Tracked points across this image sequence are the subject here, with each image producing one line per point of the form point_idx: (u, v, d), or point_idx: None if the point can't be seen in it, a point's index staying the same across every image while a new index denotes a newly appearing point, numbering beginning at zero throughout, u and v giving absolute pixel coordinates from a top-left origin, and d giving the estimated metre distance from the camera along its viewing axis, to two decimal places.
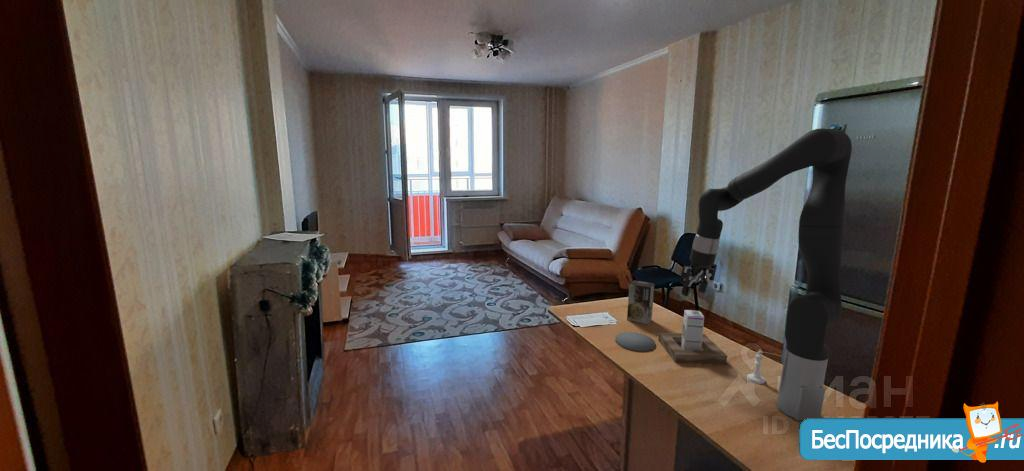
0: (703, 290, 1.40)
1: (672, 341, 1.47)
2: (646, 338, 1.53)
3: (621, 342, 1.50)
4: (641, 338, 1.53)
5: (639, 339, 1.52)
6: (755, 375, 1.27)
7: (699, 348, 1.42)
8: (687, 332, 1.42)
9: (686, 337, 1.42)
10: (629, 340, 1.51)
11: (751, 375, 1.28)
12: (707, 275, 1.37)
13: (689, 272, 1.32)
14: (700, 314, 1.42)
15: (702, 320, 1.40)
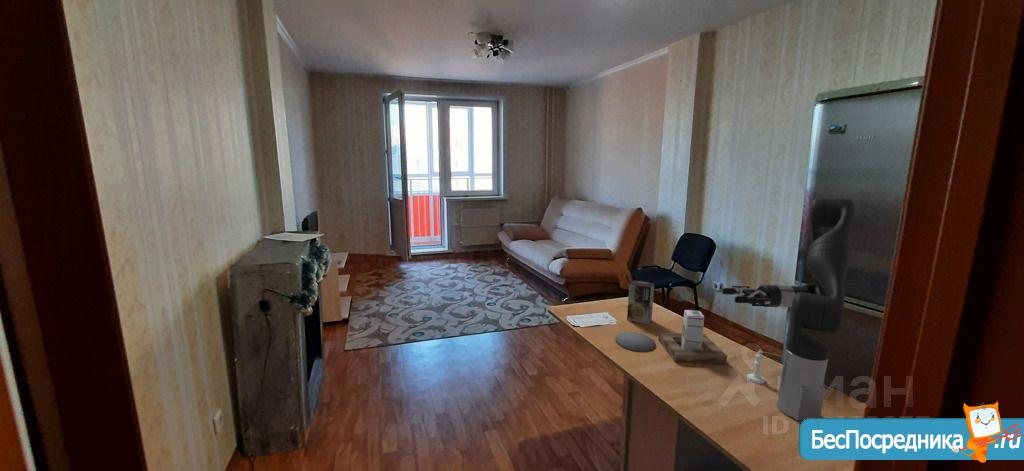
0: None
1: (672, 341, 1.47)
2: (646, 338, 1.53)
3: (621, 342, 1.50)
4: (641, 338, 1.53)
5: (639, 339, 1.52)
6: (755, 375, 1.27)
7: (699, 348, 1.42)
8: (687, 332, 1.42)
9: (686, 337, 1.42)
10: (629, 340, 1.51)
11: (751, 375, 1.28)
12: (754, 293, 1.39)
13: (745, 286, 1.48)
14: (700, 314, 1.42)
15: (702, 320, 1.40)
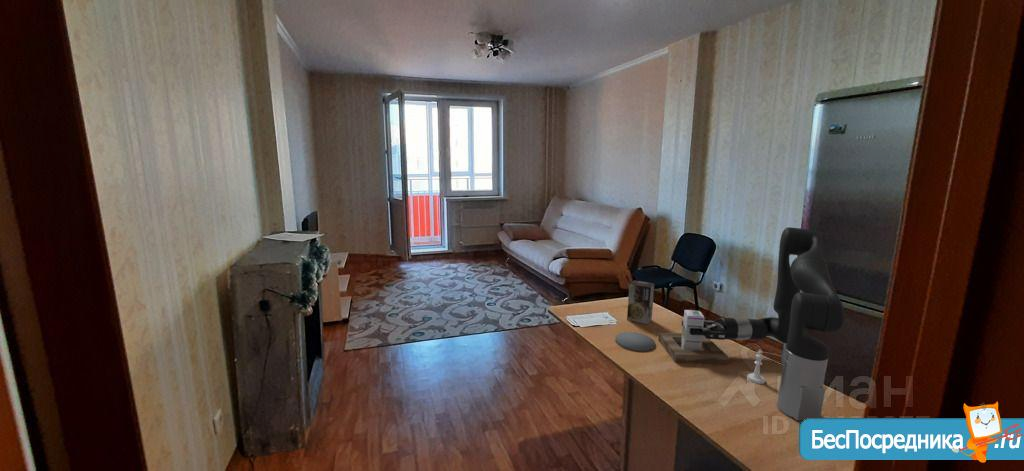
0: None
1: (672, 341, 1.47)
2: (646, 338, 1.53)
3: (621, 342, 1.50)
4: (641, 338, 1.53)
5: (639, 339, 1.52)
6: (755, 375, 1.27)
7: (699, 348, 1.42)
8: (687, 332, 1.42)
9: (686, 337, 1.42)
10: (629, 340, 1.51)
11: (751, 375, 1.28)
12: (710, 325, 1.42)
13: (704, 318, 1.50)
14: (700, 314, 1.42)
15: (702, 320, 1.40)
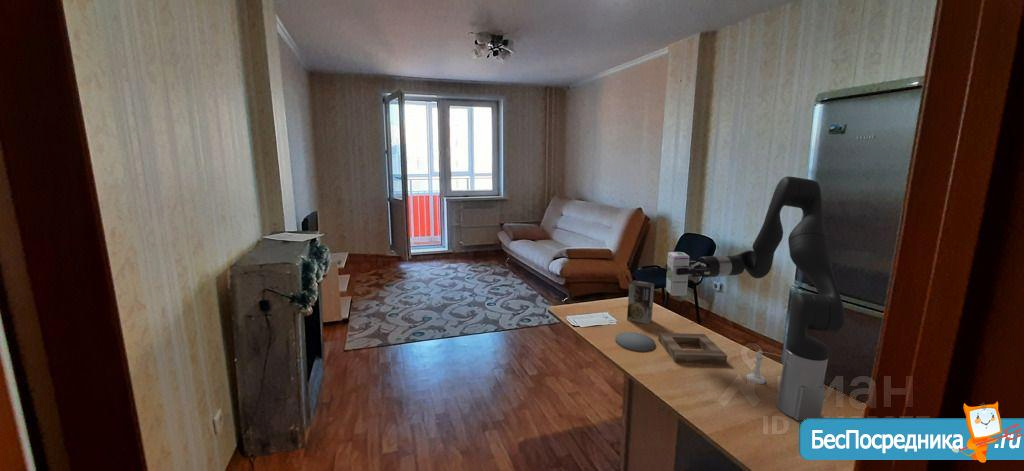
0: None
1: (672, 341, 1.47)
2: (646, 338, 1.53)
3: (621, 342, 1.50)
4: (641, 338, 1.53)
5: (639, 339, 1.52)
6: (755, 375, 1.27)
7: (685, 288, 1.43)
8: (674, 273, 1.42)
9: (673, 278, 1.42)
10: (629, 340, 1.51)
11: (751, 375, 1.28)
12: (694, 264, 1.43)
13: None
14: (684, 254, 1.42)
15: (687, 259, 1.41)
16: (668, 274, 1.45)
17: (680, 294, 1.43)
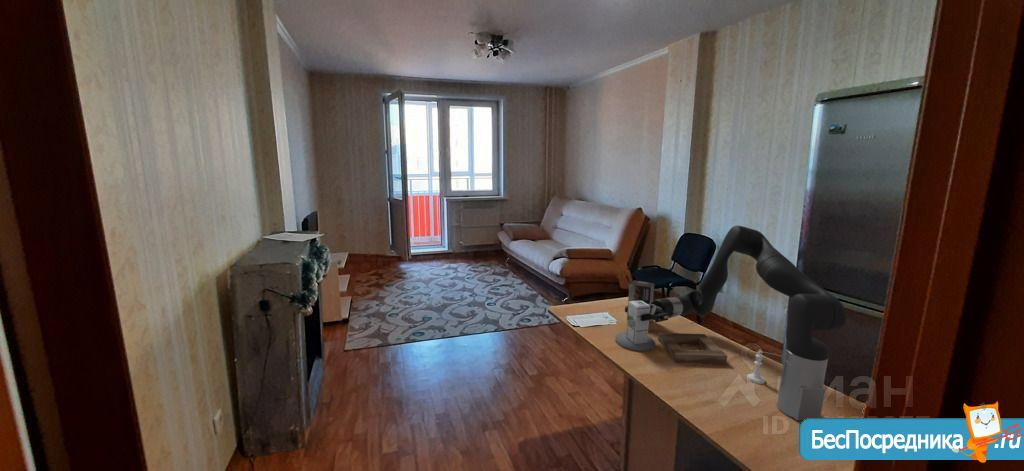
0: None
1: (672, 341, 1.47)
2: None
3: (621, 342, 1.50)
4: None
5: None
6: (755, 375, 1.27)
7: (646, 336, 1.49)
8: (636, 323, 1.46)
9: (636, 327, 1.47)
10: (629, 340, 1.51)
11: (751, 375, 1.28)
12: (653, 309, 1.49)
13: None
14: (645, 303, 1.48)
15: (648, 309, 1.47)
16: (629, 323, 1.50)
17: (642, 342, 1.49)
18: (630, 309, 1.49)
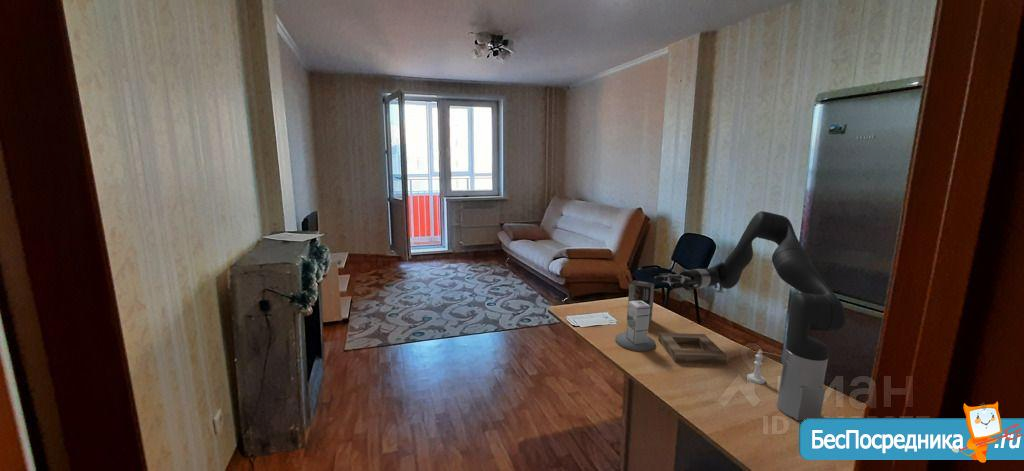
0: None
1: (672, 341, 1.47)
2: None
3: (621, 342, 1.50)
4: None
5: None
6: (755, 375, 1.27)
7: (646, 336, 1.49)
8: (636, 323, 1.46)
9: (636, 327, 1.47)
10: (629, 340, 1.51)
11: (751, 375, 1.28)
12: (682, 278, 1.52)
13: (668, 273, 1.61)
14: (645, 303, 1.48)
15: (648, 309, 1.47)
16: (629, 323, 1.50)
17: (642, 342, 1.49)
18: (630, 309, 1.49)
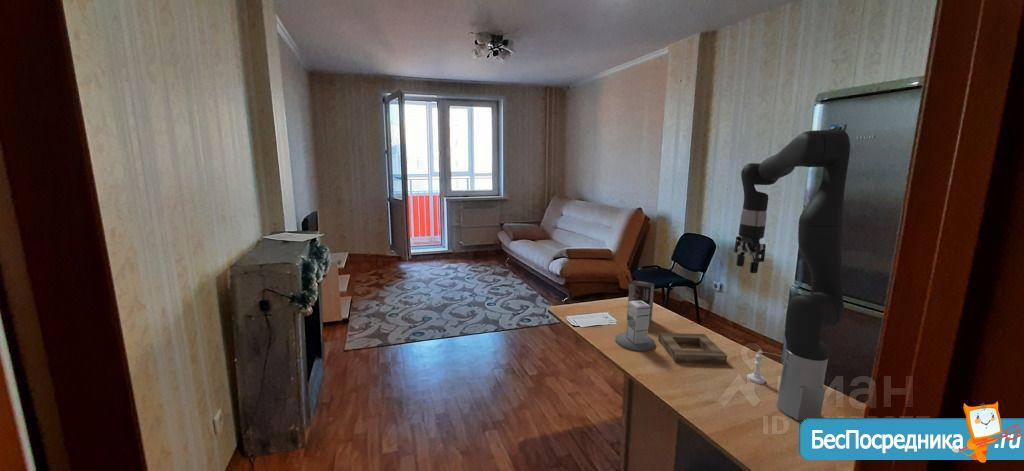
0: None
1: (672, 341, 1.47)
2: None
3: (621, 342, 1.50)
4: None
5: None
6: (755, 375, 1.27)
7: (646, 336, 1.49)
8: (636, 323, 1.46)
9: (636, 327, 1.47)
10: (629, 340, 1.51)
11: (751, 375, 1.28)
12: (748, 250, 1.38)
13: (736, 240, 1.46)
14: (645, 303, 1.48)
15: (648, 309, 1.47)
16: (629, 323, 1.50)
17: (642, 342, 1.49)
18: (630, 309, 1.49)
